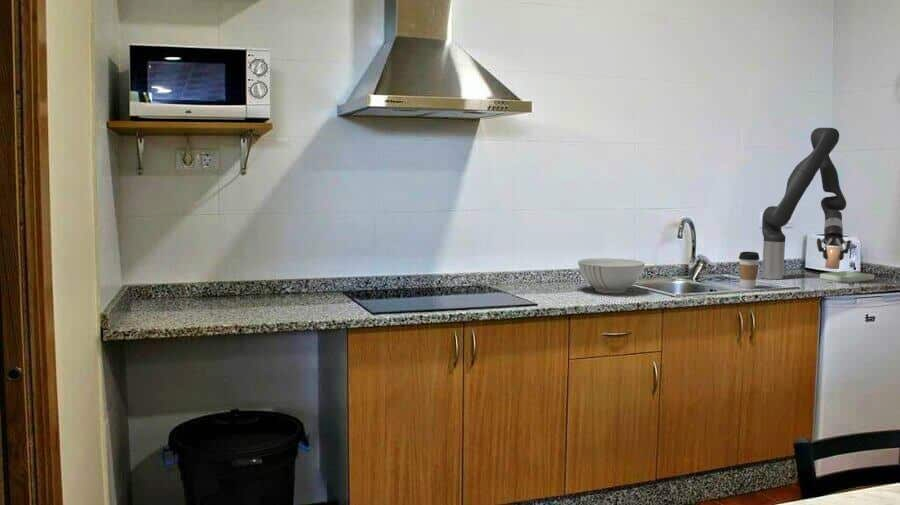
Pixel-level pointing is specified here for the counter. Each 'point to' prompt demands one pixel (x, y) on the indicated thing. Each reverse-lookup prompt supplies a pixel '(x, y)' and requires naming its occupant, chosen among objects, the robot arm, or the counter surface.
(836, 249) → the tumbler
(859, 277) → the tray
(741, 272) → the coffee cup
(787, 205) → the robot arm
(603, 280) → the decorative bowl
